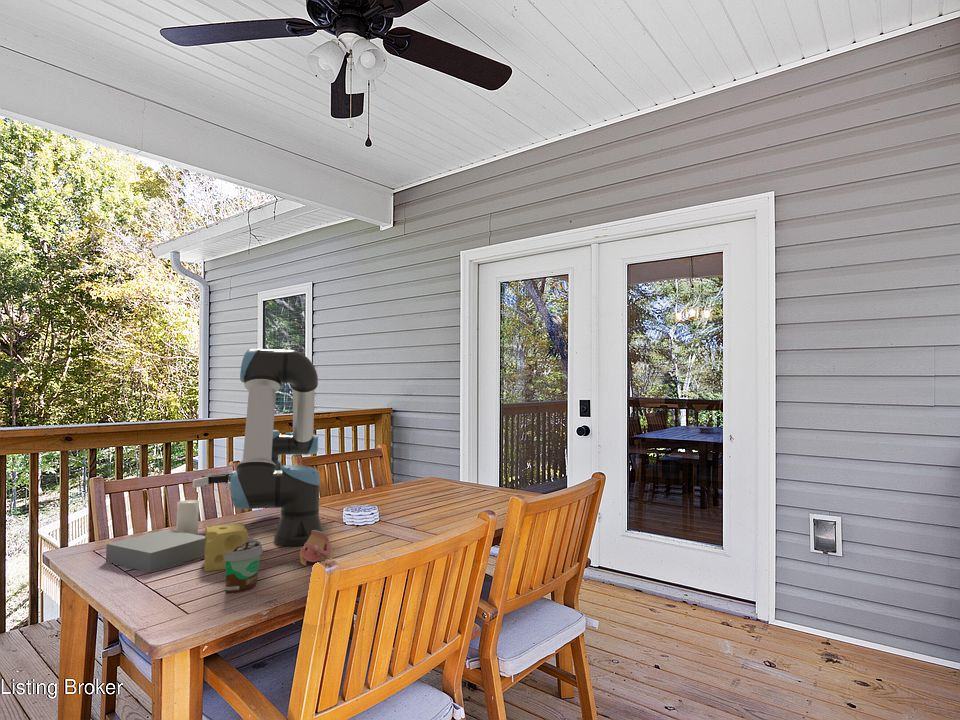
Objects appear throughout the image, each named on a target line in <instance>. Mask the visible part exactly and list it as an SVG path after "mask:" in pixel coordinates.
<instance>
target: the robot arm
mask: <svg viewBox="0 0 960 720" xmlns="http://www.w3.org/2000/svg"><path fill="white" fill-rule="evenodd" d="M239 379H240V382H241V383H243V384H244V388H245V389H246V390H247V391H248V395H247V396H248V397H247V404H246V405H247V407H246V416H245V417H246V419H245V427H244V429H245V430H244V441H243V443H244V444H243V452H242V460H241V461H239V462H238V464H237V465H236V470H233V471H231V472H224V473H216V474H207V475H204V474H203V475H201V477H200V478H195V479H192V486H191V487H192V489H196V488H200V487H207V486H208V485H209V484H212V485H213V484H221V483H222V484H224V483H225V484H227V486H226V491H227V492H230V493H231V501H232V505H233V506H234V508H236V509H237V510H238V509H239V510H243V509H244V510H251V509H252V510H253V509H255V510H256V509H276V508H277V509H278V508H280V518H279V520H278V522H277V527H276V531H275V532H274V535H273V536H274V537H273V542H274V543H275V544H276V545H278V546H283V547H284V546H285V547H303V546H302V545H304V544H305V543H306V542H307V540H308V539H309V537H310V535H311V531H312V530H317V531H320V532H322V533H324V534H325V531H324V528H323V525H322V521H321V518H320V488H321V487H320V486H321V484H322V483H321V475H320V471H319V470H318V469H317V468H315V467H312V466H307V465H300V464H299V465H298V464H285V465H283V463H282V462H281V461H280V460H279V456H283V455H284V456H285V455H289V456H290V455H293V456H294V455H301V456H302V455H303V456H304V455H305V456H307V455H315V454H318V450H319V449H318V448H319V435H317V434H314V428H315V427H314V426H315V425H314V424H315V422H314V420H315V417H314V415H315V390H316V389H317V388H318V385H319V377H318V373H317V369H316V368H315V366H314V364H313V362H312V361H311V360H310V358H309V357H307V355H306V354H303V353H302V352H301V351H299V350H294V349H276V348H275V349H273V348H271V349H269V348H251V349H250V348H249V349H248V350H246V351H245V353H244V355H243V358H242V361H241V366H240V374H239ZM282 384H289V387H290V389H291V390H292V434H290V435H289V434H280V430H278V429H274V426H275V424H274V423H275V413H276V412H275V411H276V394H277V392H278V391H279V390H281V388H282Z"/></svg>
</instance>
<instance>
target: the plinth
mask: <svg viewBox="0 0 960 720" xmlns="http://www.w3.org/2000/svg"><path fill="white" fill-rule="evenodd" d="M105 551H106V552H105V563H106V562H109V563H108V564H110V563H113V564H112V565H115V564H117V565H116V566H119V565H121V566H120V567H123V566H125V567H124V568H128V567H129V569H133V570H136V571H141V572H146V573H148V574H149V573H153V572H157V571H160V570H163V569H166V568H170V567H173V566H176V565H179V564H182V562H183V563H185V562H189V561H192V560H195V559H198V558H201V557H204V552H205V535H200V534H197V535H195V534H190V533H184V532H179V531H176V530H172V529H167V528H166V529H163V530H159V531H154V532H151V533H146V534H142V535H138V536H134V537H130V538H125V539H121V540H117V541H113V542H110V543H106V550H105ZM175 564H176V565H175ZM172 565H173V566H172ZM169 566H170V567H169Z"/></svg>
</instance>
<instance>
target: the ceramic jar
mask: <svg viewBox="0 0 960 720" xmlns="http://www.w3.org/2000/svg"><path fill="white" fill-rule="evenodd" d="M176 503H177V507H176V528H175V531H179V532H184V533H190V534H195V535H199V534H198V529H199V510H200V505H199V504H200V501H199V500H196V499H188V500H187V499H186V500H180V501H177V502H176Z"/></svg>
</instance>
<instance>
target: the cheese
mask: <svg viewBox="0 0 960 720" xmlns="http://www.w3.org/2000/svg"><path fill="white" fill-rule="evenodd" d="M204 532H205V534H204V536H205V552H204V556H203V557H204V559H203V560H204V568H203V569H204V572H214V571H220V570H221V571H222V570H226V561H224V559H225V554H226V552H232V551H234V550H235V549H236V548H237V547H239V546H242V545H244V544H245V543H246V539H249V534H248V530H247V528H246V527H245V525H244V523H243V522H242V523H239V522H238V523H229V524H221V525H220V524H219V525H218V524H217V525H206V526H205V531H204Z"/></svg>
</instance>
